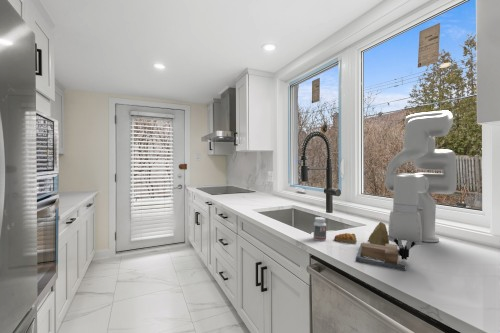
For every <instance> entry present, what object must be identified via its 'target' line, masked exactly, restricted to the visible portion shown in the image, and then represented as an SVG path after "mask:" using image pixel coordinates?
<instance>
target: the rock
mask: <svg viewBox="0 0 500 333" xmlns="http://www.w3.org/2000/svg"><path fill="white" fill-rule="evenodd" d="M388 235H389V232H388V228H387V227H386V224H385V223H383V222H382V221H380V222H379V223H378V224H377V225H376V226H375V228H374V229H373V231H372V232H371V234H370V235H369V237H368V240H367V243H370V244H377V245H383V246H385V245H386V243H387V244H390V241H389V240H388Z"/></svg>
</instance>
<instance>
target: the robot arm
mask: <svg viewBox="0 0 500 333" xmlns="http://www.w3.org/2000/svg"><path fill="white" fill-rule="evenodd" d="M453 116H454V115H453V113H452V112H451V111H449V110H437V111H428V112H417V113H414V114H413V113H412V114H409V115H407V116H406V117H405V118H404V125H405V131H404V137H403V144H402V149H401V150H400V151H399V152H397V153H396V154H395V155H394V156H393V158H391V160H390V161H389V163H388V165H387V168H386V170H385V171H386V172H385V177H384V186H385V188H386V190H387V191H389V192H392V193H393V200H392V201H393V205H392V210H390V213H389V218H388V228H387V232H388V240H389V242H392V243H395V245H397V247H398V249H399V254H398V257H401V260H405V261H408V258H410V250H411V249H412V248H413V247H415V246H422V245H423V242H425V243H437V242H439V241H440V237H438V236H436V211H437V210H436V207H437V206H436V205H437V202H436V201H435V199H434V198H433V196H431V194H436V195H437V194H438V195H453V194H455V193H456V190H457V170H458V169H457V167H458V166H457V155H456V153H455V151H454V150H451V149H436V138H435V137H437V138H438V137H445V136H448V134H449V133H450V131H451V129H452V126H453V124H454V123H453V122H454V117H453ZM412 161H413V167H414V168H415V169H416V170H422V171H441V172H442V173H440V172H438V173H437V172H416V173H405V172H399V173H398V172H396V171H397V170H398V169H400V167H401V166H403V165H404V164H407V163H409V162H412ZM403 241H406V243H405V245H403Z"/></svg>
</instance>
